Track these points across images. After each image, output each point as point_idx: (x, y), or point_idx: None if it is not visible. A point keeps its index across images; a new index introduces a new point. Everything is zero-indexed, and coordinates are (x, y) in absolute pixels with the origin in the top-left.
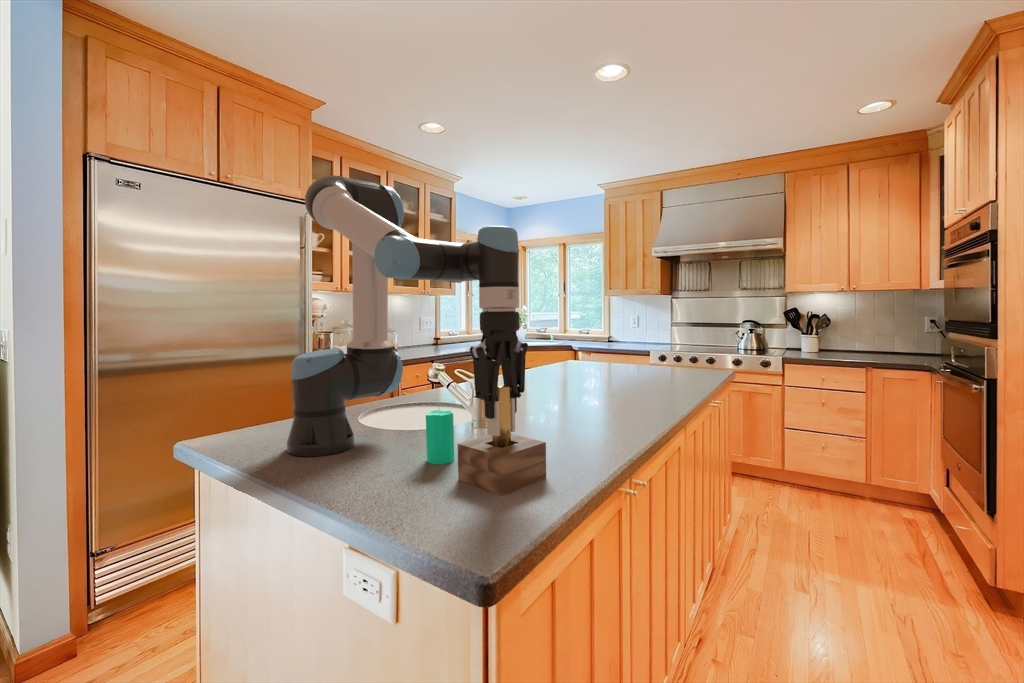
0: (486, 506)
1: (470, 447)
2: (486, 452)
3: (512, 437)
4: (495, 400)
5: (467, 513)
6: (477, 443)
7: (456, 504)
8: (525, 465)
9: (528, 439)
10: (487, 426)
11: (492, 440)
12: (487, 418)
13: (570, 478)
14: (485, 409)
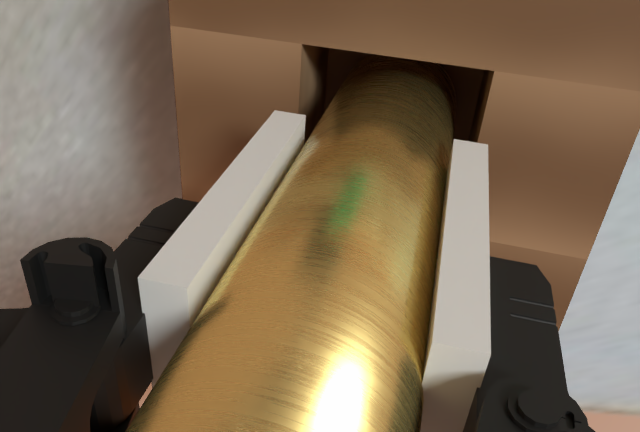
0: (153, 186)
1: (171, 30)
2: (182, 175)
3: (557, 129)
4: (137, 409)
5: (77, 168)
6: (268, 3)
7: (84, 88)
8: None
9: (560, 247)
10: (254, 138)
11: (325, 111)
12: (229, 171)
13: (578, 311)
14: (124, 251)
